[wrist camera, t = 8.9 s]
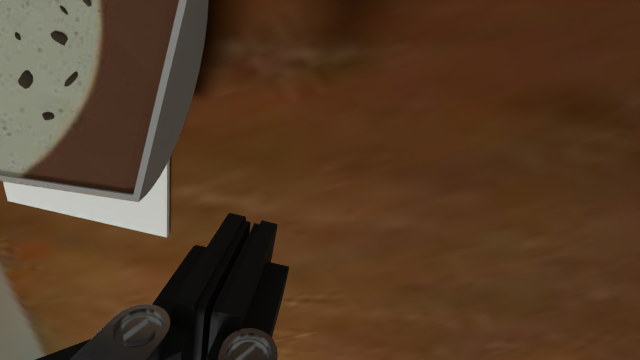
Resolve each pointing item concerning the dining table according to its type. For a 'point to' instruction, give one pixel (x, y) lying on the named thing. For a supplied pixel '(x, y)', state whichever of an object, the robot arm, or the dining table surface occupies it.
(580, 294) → the dining table surface
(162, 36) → the food container
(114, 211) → the mat
